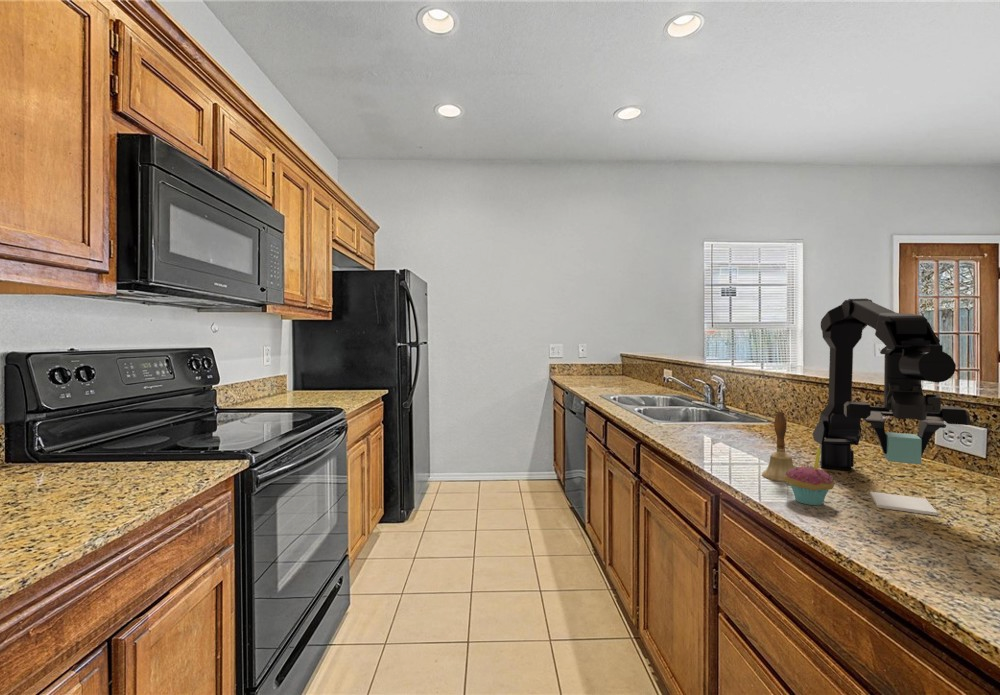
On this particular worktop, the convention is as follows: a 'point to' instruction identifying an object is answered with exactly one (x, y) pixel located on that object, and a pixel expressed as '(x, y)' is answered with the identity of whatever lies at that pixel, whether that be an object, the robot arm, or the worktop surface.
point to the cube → (903, 448)
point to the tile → (903, 503)
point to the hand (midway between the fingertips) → (901, 455)
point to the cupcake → (809, 483)
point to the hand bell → (779, 453)
